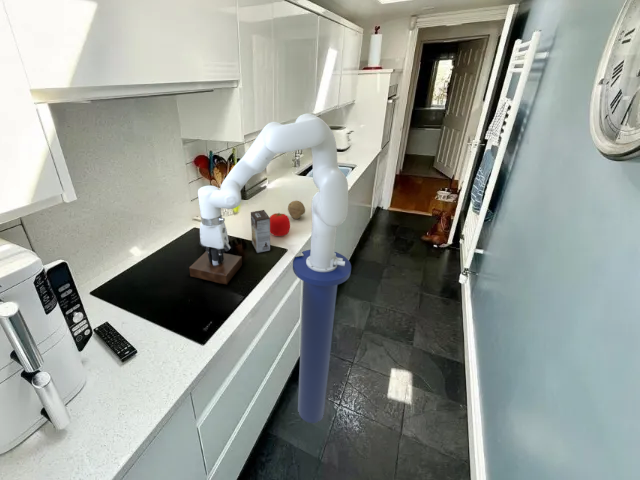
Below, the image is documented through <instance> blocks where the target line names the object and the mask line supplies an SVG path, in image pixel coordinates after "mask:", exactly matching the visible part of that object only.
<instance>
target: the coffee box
mask: <svg viewBox="0 0 640 480" xmlns="http://www.w3.org/2000/svg"><path fill="white" fill-rule="evenodd" d="M250 228H251V244H252V246H253V247H254V249H255V252H256V253H257V254H259V253H263V252H264V253H265V252H268V251H269V252H270V251H271V233H270V216H269V214H268V213H267V212H266V211H265V209H260V210H254V211H251V212H250Z"/></svg>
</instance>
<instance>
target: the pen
mask: <svg viewBox="0 0 640 480" xmlns="http://www.w3.org/2000/svg"><path fill="white" fill-rule="evenodd" d="M211 255H212V263H213V265H219V264H218V259H217V255H218V251H217V248H212V249H211ZM220 264H221V263H220Z"/></svg>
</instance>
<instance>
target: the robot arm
mask: <svg viewBox="0 0 640 480" xmlns="http://www.w3.org/2000/svg"><path fill="white" fill-rule="evenodd" d="M305 149H310V150H311V159H312V161H311V162H312V182H313V184H314V186H315V187H316V188H317V190H319V191H317V192H316V193H315V194H314V195H313V196H312V199H311V208H310V209H311V234H310V250H311V251H310V256H309V257H308V258H307V260H306V264H307V266H308V267H309V268H310V269H312V270H314V271H317V272H330V271H333V270H335V269H336V267H337V265H340V266H345V261H343V258H337V257H336V253H334V252H336V241H337V231H338V226H340V225H342V224H343V223H344V222H345V221H346V219H347V216H348V212H349V183H348V178H347V176H346V175H345V173H344V172H343V171H342V170H341V169H340V168H339V165H338V163H339V162H338V147H337V141H336V137H335V134H334V132H333V130H332V129H331V127H330V126H329V125H328V124H327V123H326V121H324V120H323V119H322V118H321V117H319V116H317V115H315V114H313V113H303V114H301V115H299V116H298V117H297V118H296V119H295V122H291V123H286V124H282V123H281V122H278V121H270V122H268V123H267V124H266V125H265V126H264V127H263V128H262V130H261V131H260V132H259V134H258V135H257V137H255V139H254V141H253V142H252V143H251V145H250V146H249V148H248V149H247V151H246V152H245V153H244V155H243V156H242V157H241V158H240V159H239V160H238V162H237V163H236V164H235V165H234V166H233V167H232V168H231V170H230V171H229V173H228V174H227V175H226V177H225V178H224V180H223V181H222V183H221V184H220V187H219V188H218V187H217V186H216V185H204V186H201V187H199V188H198V189H197V197H198V206H199V213H200V223H199V242H198V245H199V246H200V247H202V248H203V249H204V250H205V252H207V253H208V258H209V262H212V255H211V249H212V248H217V251H218V255H217V259H218V264H220V263H221V262H222V261H223V260H224V257H223V253H225V252H228V251H230V249H232V247H231V245H230V244H229V242H230V241H229V235H228V229H227V226H226V223H225V217H223V215H222V209H227V210H232V209H237V208H238V207H239V206H240V205H241V203H242V193H241V191H242V190H243V188H244V187H245V185H246V184H247V182H248V181H249V180H250V179H251V178H252V177H254V176H255V175H258V174H261V173H263V172H264V171H266V169H267V167H268V166H269V164H270V163H271V162H272V160H273V159H274V158H275V156H276V155H277V154H285V153H291V152H297V151H300V150H305Z"/></svg>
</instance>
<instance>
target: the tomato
mask: <svg viewBox="0 0 640 480" xmlns="http://www.w3.org/2000/svg"><path fill="white" fill-rule="evenodd" d="M269 217H270V235H272V236H275V237H284V236H286V235H287V234H289V232H290V230H291V222H290V218H289V216H288V215H286V214H285V213H280V212H278V213H277V212H276V213H273V214H272V215H270V216H269Z"/></svg>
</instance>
